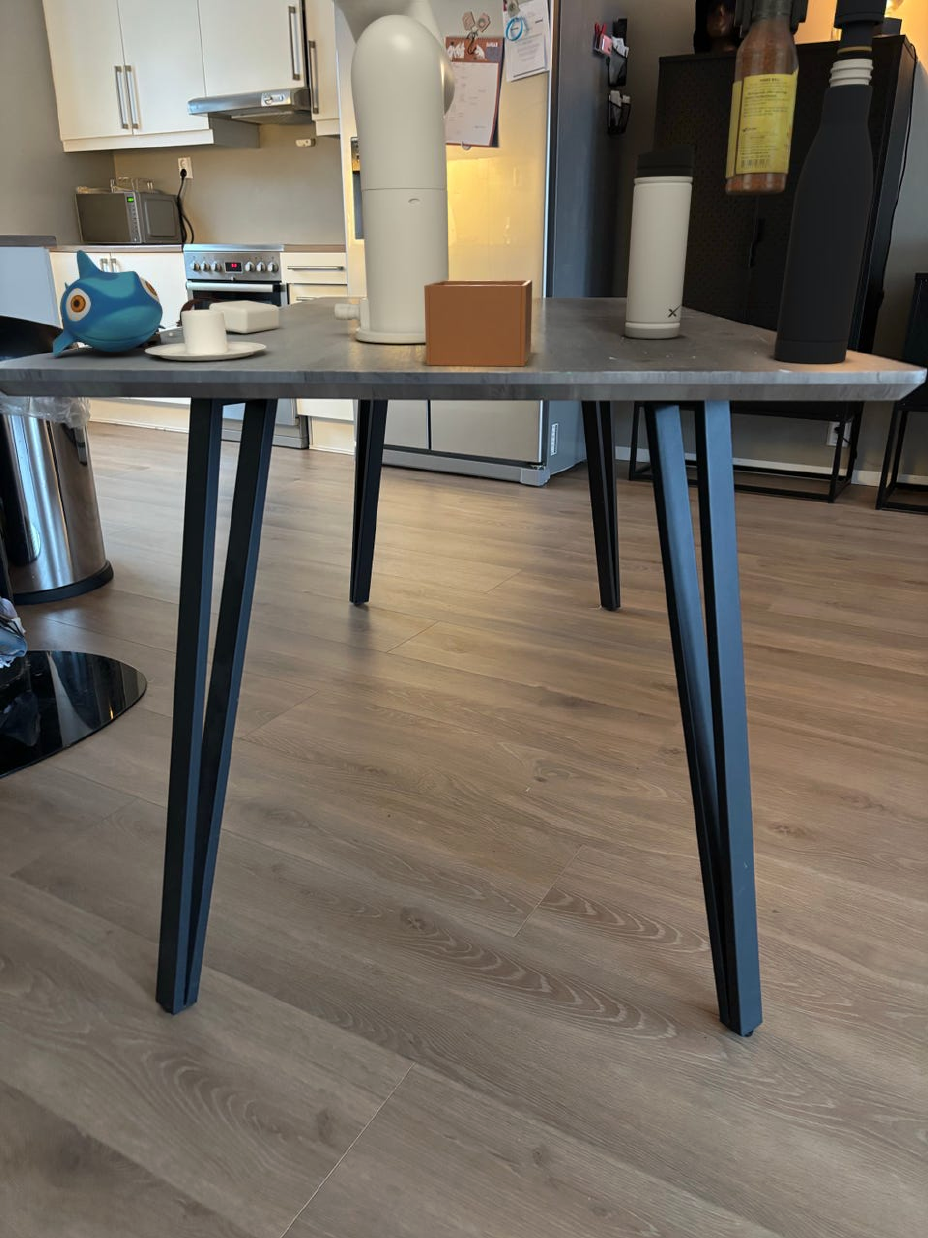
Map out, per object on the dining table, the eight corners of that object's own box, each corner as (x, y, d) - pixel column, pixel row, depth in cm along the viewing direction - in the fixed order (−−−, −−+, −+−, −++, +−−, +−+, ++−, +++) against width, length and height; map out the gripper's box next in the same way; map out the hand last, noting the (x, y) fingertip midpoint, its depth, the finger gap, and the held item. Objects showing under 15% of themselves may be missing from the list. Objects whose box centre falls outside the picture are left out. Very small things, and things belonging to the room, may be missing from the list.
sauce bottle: (797, 194, 91) (829, -38, 83) (752, 193, 88) (780, -47, 80) (752, 196, 96) (778, -22, 88) (708, 195, 94) (731, -29, 86)
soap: (206, 302, 108) (206, 327, 109) (246, 309, 106) (245, 334, 108) (244, 299, 116) (243, 322, 117) (281, 305, 114) (280, 329, 116)
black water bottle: (781, 363, 80) (834, -32, 68) (767, 354, 86) (814, -11, 74) (853, 364, 80) (920, -36, 67) (834, 355, 85) (893, -14, 73)
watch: (174, 333, 110) (196, 342, 108) (176, 295, 107) (198, 304, 106) (216, 327, 116) (237, 336, 115) (219, 291, 113) (241, 300, 112)
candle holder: (263, 361, 85) (259, 314, 83) (135, 364, 83) (128, 317, 81) (269, 347, 96) (265, 305, 94) (156, 350, 94) (150, 307, 92)
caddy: (426, 365, 81) (424, 285, 78) (441, 352, 90) (440, 280, 87) (524, 366, 80) (525, 285, 77) (530, 353, 89) (532, 280, 86)
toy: (83, 367, 82) (44, 255, 78) (31, 361, 96) (-5, 265, 92) (200, 338, 89) (170, 232, 84) (136, 336, 102) (107, 245, 98)
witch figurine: (222, 318, 117) (216, 304, 116) (190, 330, 106) (183, 315, 106) (186, 330, 118) (180, 316, 117) (151, 343, 107) (144, 328, 107)
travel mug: (686, 339, 99) (704, 140, 91) (629, 339, 100) (641, 141, 91) (675, 333, 105) (691, 145, 97) (621, 333, 105) (632, 146, 97)
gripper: (884, -197, 81) (851, 36, 88) (699, -178, 84) (681, 45, 91) (903, -236, 74) (865, 20, 81) (701, -214, 77) (682, 30, 85)
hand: (768, 31), depth 86 cm, fingers closed on sauce bottle, 4 cm apart
